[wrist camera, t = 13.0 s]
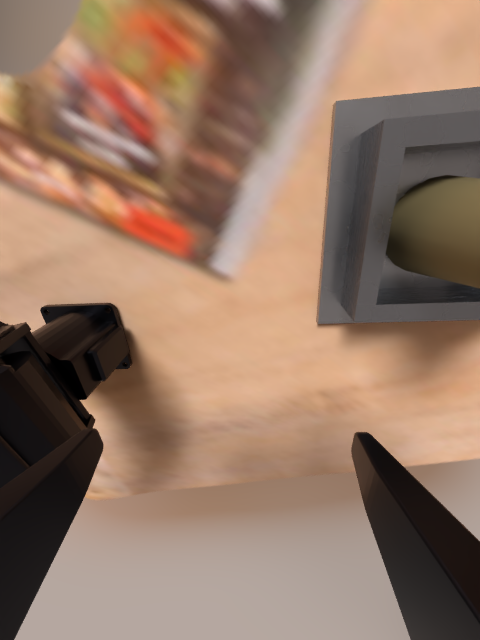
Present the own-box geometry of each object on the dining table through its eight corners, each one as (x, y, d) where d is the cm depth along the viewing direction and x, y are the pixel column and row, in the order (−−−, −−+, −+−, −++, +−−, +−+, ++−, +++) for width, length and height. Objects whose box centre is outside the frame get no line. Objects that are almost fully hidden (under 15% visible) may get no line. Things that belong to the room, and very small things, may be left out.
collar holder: (316, 320, 21) (327, 343, 18) (333, 104, 15) (354, 78, 11) (501, 315, 19) (549, 339, 16) (603, 78, 13) (712, 40, 10)
